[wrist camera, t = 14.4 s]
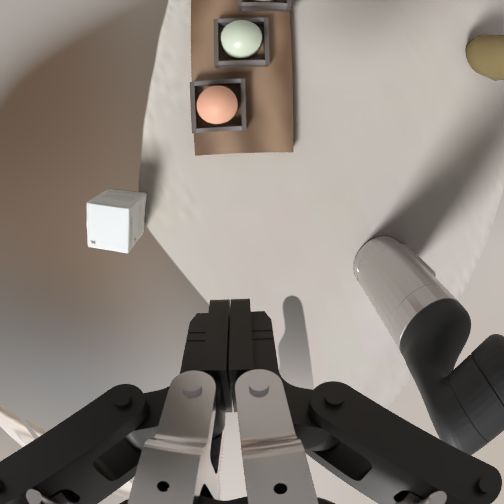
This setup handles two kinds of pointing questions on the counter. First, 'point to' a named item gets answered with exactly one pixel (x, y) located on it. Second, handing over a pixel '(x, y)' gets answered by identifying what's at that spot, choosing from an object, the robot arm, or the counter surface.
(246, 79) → the button panel
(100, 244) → the product box
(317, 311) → the counter surface
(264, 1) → the cream button
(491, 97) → the counter surface
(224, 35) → the sage button
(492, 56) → the squeeze bottle
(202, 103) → the terracotta button
